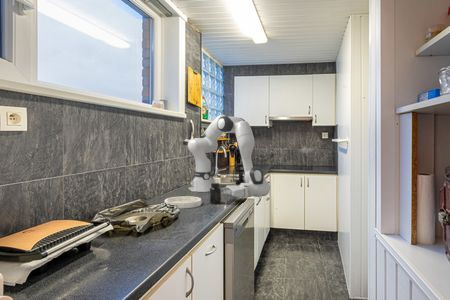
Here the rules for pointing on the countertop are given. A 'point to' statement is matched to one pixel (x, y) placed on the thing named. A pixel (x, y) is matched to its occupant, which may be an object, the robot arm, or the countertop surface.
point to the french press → (239, 174)
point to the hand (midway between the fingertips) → (221, 191)
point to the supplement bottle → (215, 193)
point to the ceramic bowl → (184, 201)
